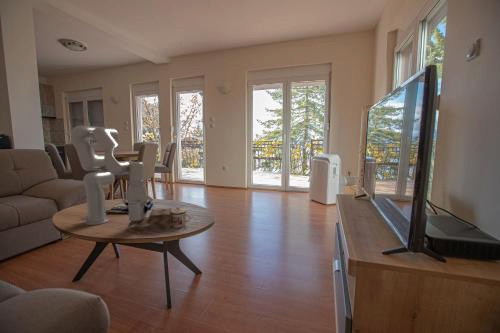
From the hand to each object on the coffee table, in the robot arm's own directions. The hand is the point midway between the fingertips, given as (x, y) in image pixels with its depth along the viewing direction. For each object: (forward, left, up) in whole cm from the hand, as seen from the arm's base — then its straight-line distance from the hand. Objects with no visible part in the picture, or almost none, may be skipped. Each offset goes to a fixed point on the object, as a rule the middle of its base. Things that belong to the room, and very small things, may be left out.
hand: (138, 212), depth 138 cm
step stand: (+7, -2, -9) cm, 12 cm away
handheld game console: (-5, +44, -10) cm, 46 cm away
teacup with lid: (+24, -1, -9) cm, 26 cm away
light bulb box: (0, 0, -3) cm, 3 cm away
